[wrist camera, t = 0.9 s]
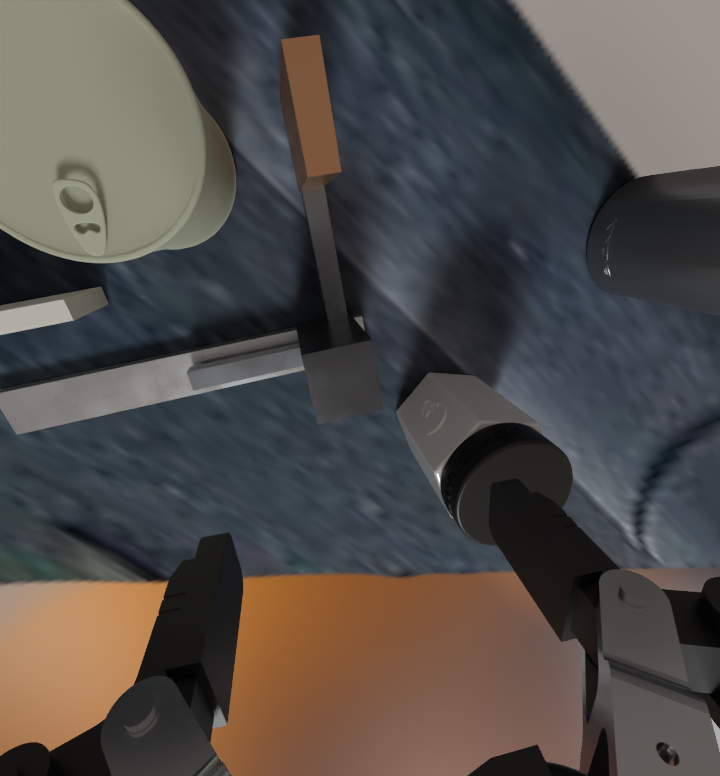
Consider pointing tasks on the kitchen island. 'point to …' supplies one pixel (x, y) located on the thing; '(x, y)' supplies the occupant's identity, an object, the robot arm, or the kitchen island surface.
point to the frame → (50, 310)
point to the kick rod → (338, 329)
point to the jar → (478, 448)
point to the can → (103, 135)
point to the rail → (129, 383)
